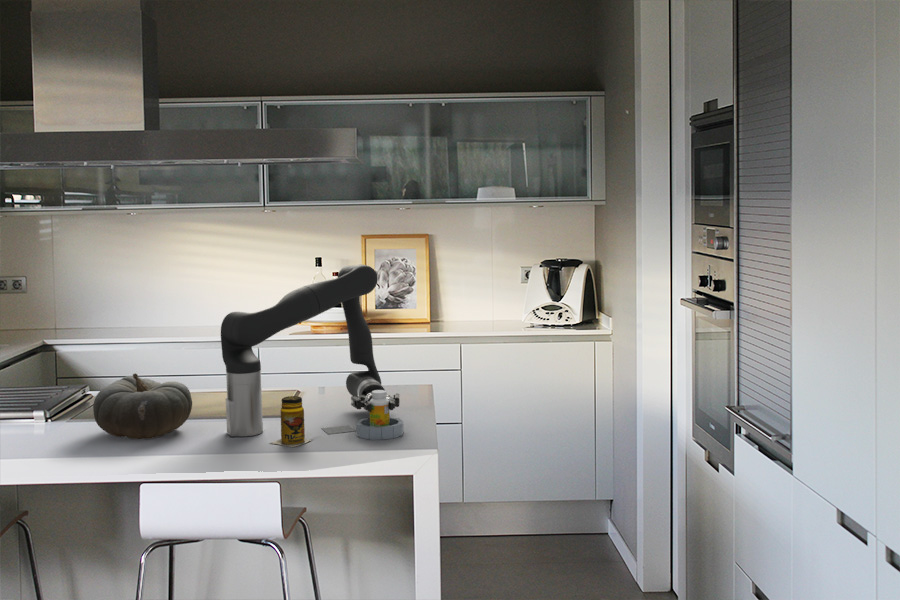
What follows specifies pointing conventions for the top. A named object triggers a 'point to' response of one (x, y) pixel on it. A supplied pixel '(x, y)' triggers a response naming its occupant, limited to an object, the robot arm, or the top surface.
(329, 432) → the mat
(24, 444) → the top surface
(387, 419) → the supplement bottle
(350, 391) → the robot arm
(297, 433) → the condiment
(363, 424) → the bowl
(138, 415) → the gourd
